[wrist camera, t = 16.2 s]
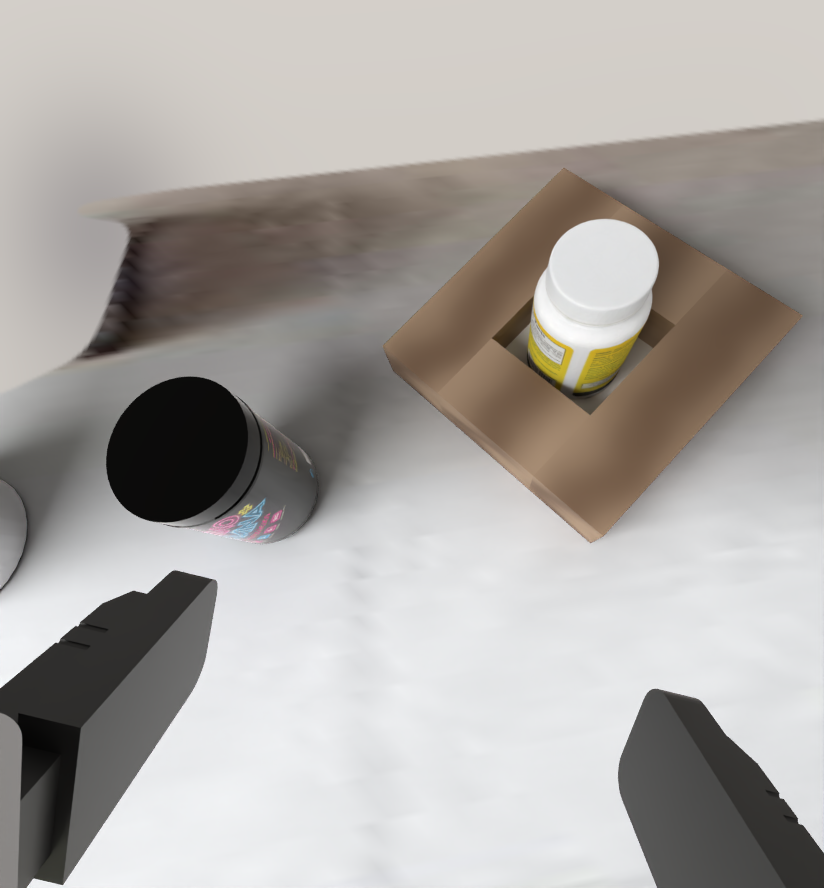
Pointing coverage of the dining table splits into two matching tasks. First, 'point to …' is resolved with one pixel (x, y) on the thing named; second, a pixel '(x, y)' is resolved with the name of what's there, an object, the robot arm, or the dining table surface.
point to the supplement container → (209, 464)
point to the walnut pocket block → (628, 396)
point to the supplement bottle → (591, 305)
